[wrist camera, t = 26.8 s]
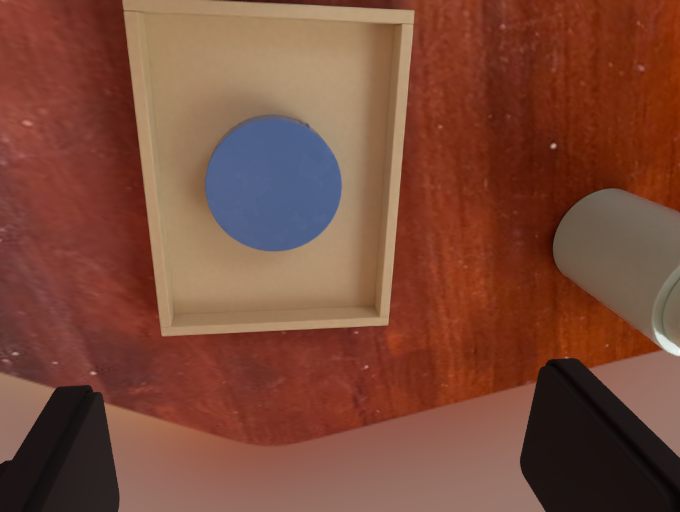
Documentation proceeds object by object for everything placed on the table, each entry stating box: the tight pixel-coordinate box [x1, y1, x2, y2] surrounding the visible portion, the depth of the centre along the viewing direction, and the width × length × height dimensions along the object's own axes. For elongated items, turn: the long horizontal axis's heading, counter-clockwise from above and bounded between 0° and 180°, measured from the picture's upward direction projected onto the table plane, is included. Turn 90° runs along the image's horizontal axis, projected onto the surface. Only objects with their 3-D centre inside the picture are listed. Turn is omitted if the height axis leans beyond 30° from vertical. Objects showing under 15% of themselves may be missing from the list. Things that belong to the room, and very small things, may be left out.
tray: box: [122, 0, 414, 336], centre depth 27 cm, size 17×13×2 cm
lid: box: [205, 114, 342, 252], centre depth 26 cm, size 7×7×2 cm
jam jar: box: [553, 189, 680, 357], centre depth 28 cm, size 7×7×11 cm
